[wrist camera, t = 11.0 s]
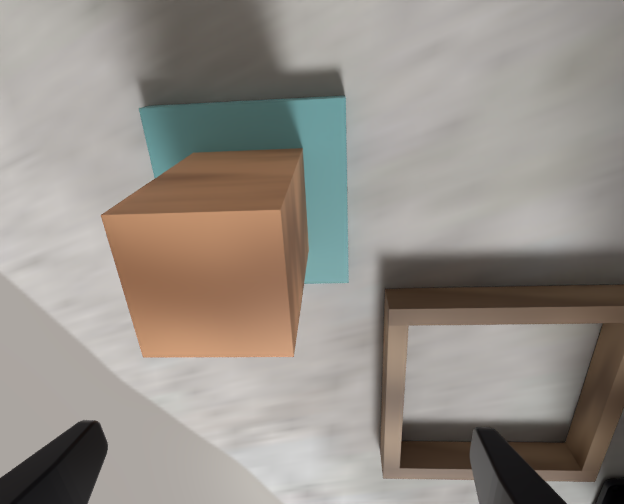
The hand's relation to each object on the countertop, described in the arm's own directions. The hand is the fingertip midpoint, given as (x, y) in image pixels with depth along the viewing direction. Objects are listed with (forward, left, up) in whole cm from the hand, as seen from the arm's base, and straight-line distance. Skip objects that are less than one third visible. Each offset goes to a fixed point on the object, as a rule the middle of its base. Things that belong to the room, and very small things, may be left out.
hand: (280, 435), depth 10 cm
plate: (+2, +3, -12) cm, 13 cm away
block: (+2, +3, -11) cm, 12 cm away
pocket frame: (-10, -10, -12) cm, 19 cm away
